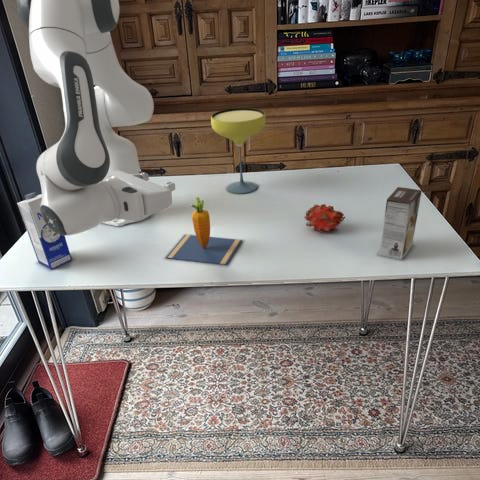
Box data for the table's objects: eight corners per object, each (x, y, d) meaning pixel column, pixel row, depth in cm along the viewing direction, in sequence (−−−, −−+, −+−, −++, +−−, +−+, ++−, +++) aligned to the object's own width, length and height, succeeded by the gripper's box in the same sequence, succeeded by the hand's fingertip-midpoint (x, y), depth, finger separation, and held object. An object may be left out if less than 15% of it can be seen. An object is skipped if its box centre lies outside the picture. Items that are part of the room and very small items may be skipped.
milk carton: (50, 270, 132) (27, 201, 120) (37, 262, 135) (13, 195, 123) (72, 259, 136) (52, 192, 124) (59, 252, 140) (38, 187, 127)
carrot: (210, 253, 133) (205, 202, 124) (193, 252, 134) (187, 202, 125) (214, 244, 137) (209, 195, 128) (198, 244, 138) (192, 194, 129)
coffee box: (389, 240, 134) (397, 185, 124) (412, 245, 131) (422, 189, 121) (378, 255, 128) (386, 198, 118) (402, 260, 125) (412, 203, 115)
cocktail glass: (271, 194, 165) (270, 118, 150) (220, 200, 163) (213, 124, 148) (261, 176, 179) (259, 105, 164) (214, 181, 178) (208, 110, 163)
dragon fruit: (300, 233, 144) (339, 237, 144) (305, 228, 135) (346, 233, 136) (303, 205, 144) (342, 209, 144) (308, 198, 135) (349, 203, 135)
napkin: (165, 258, 133) (165, 257, 133) (185, 235, 144) (184, 234, 144) (226, 265, 128) (226, 263, 128) (241, 241, 139) (241, 239, 139)
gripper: (88, 199, 114) (133, 182, 123) (144, 223, 104) (189, 204, 112) (83, 173, 110) (130, 158, 119) (140, 196, 100) (188, 178, 108)
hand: (159, 180), depth 115 cm, fingers open, 8 cm apart
